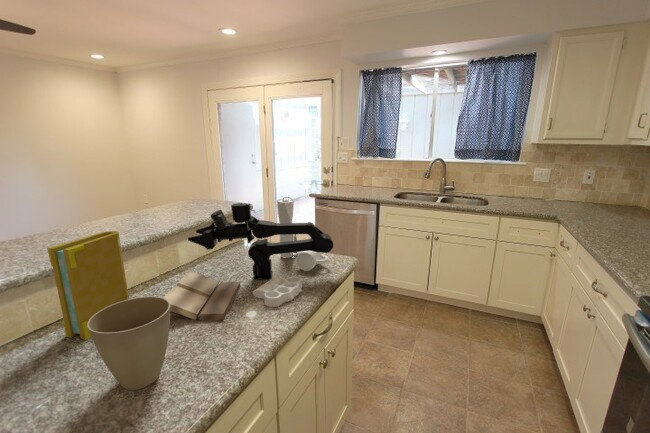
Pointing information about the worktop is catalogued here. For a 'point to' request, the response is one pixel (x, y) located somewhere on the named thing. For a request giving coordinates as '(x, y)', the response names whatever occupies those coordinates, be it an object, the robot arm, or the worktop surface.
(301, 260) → the mug
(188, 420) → the worktop surface
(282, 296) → the white honeycomb tray
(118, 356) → the plant pot
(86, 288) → the book
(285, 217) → the skyscraper
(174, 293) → the oak plank left
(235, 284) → the walnut board
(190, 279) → the oak plank right
